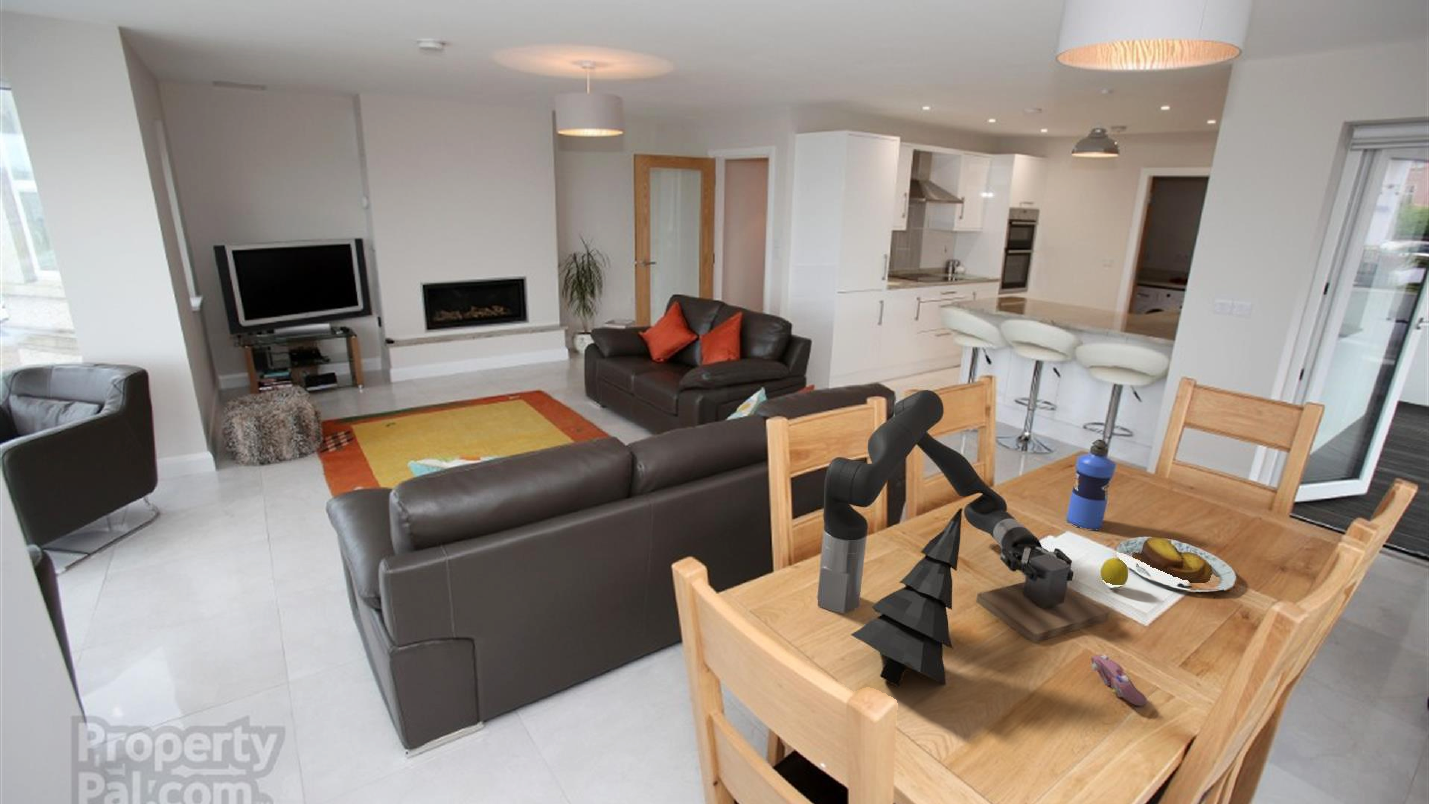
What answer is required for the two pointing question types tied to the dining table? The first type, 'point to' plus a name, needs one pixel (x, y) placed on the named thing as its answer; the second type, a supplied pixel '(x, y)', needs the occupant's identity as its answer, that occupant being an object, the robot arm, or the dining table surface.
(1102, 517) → the water bottle
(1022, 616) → the flat brown board
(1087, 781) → the dining table surface
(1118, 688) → the video game controller
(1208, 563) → the food on plate
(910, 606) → the decorative tree
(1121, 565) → the lemon
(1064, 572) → the dark grey box
